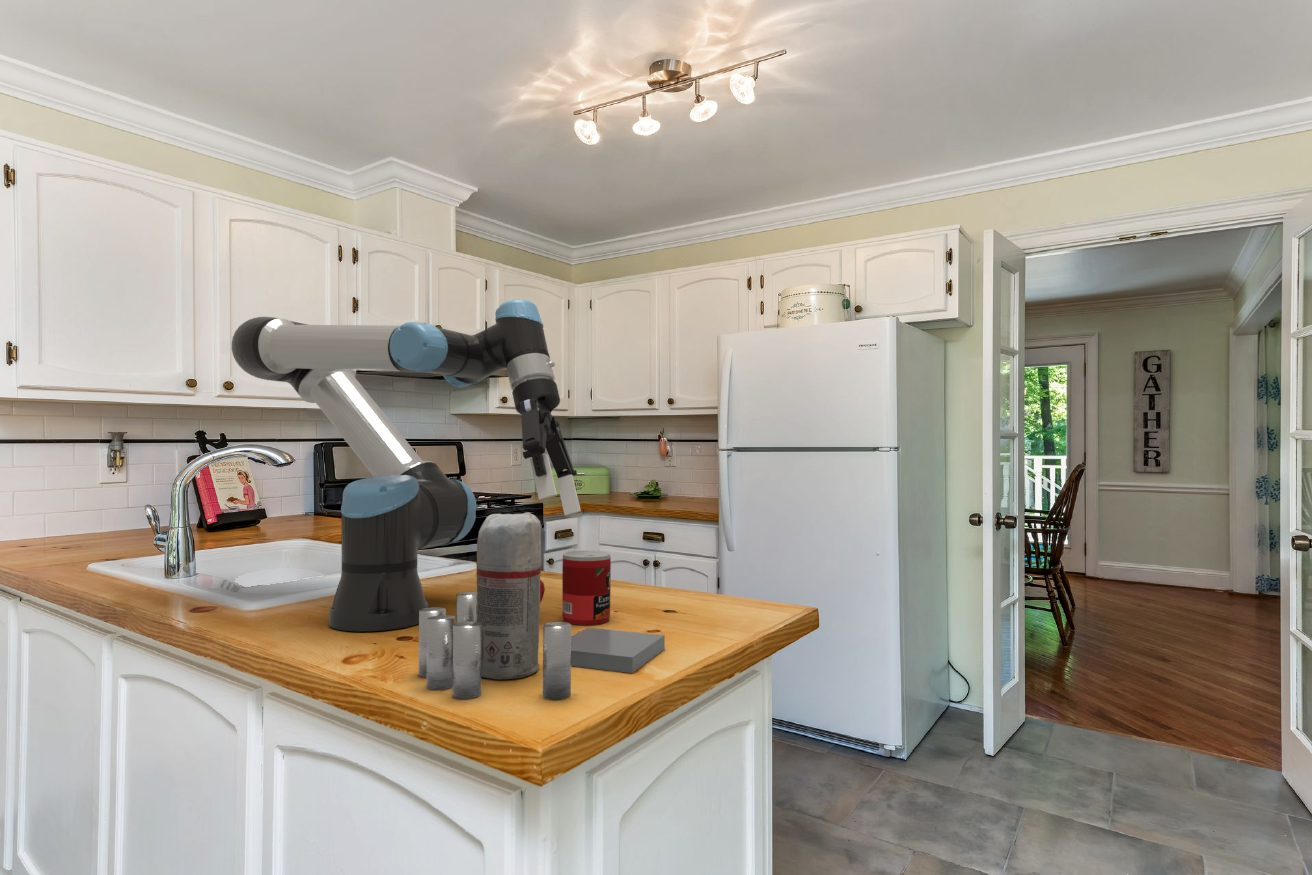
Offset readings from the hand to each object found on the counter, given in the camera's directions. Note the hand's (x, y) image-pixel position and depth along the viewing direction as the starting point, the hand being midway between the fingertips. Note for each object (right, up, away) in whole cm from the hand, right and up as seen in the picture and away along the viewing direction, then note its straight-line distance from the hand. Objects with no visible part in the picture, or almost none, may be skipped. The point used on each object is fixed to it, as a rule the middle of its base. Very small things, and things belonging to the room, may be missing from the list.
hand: (561, 505), depth 118 cm
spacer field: (-4, -19, -26) cm, 32 cm away
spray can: (-4, -19, -24) cm, 31 cm away
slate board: (+9, -19, -17) cm, 27 cm away
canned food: (+4, -19, +4) cm, 20 cm away
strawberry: (-7, -19, +3) cm, 21 cm away
